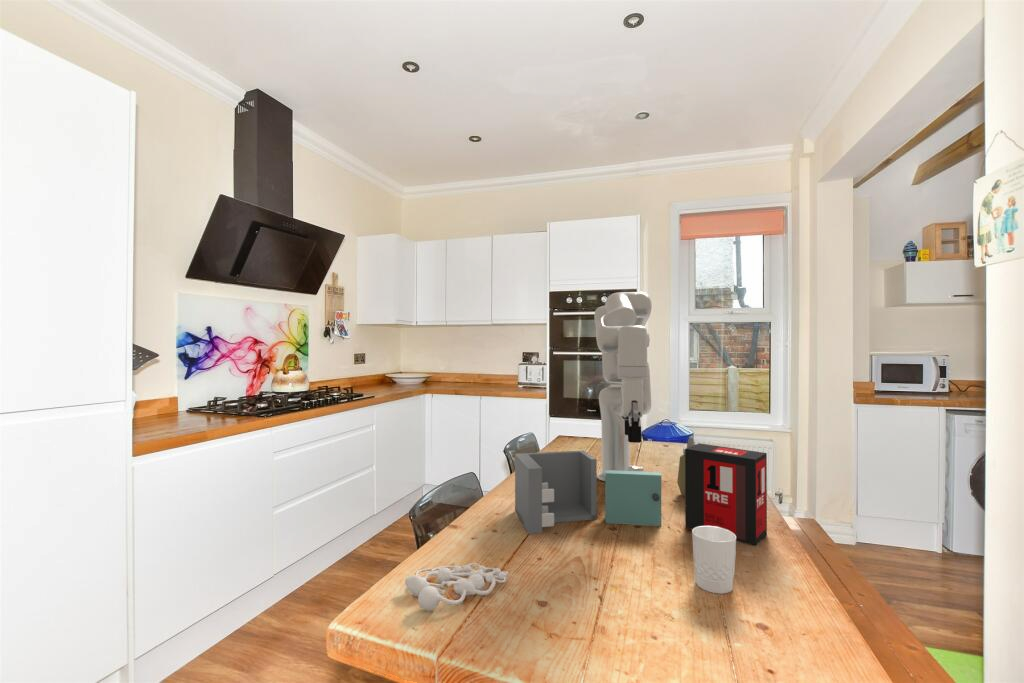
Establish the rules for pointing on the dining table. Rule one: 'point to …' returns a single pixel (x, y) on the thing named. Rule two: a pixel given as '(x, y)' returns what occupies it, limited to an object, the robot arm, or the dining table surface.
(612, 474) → the cabinet door
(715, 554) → the white cup
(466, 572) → the tangled rod sculpture
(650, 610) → the dining table surface
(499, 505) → the dining table surface
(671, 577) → the dining table surface
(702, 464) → the cleaning product box
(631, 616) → the dining table surface
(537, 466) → the cabinet
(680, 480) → the squeeze bottle
